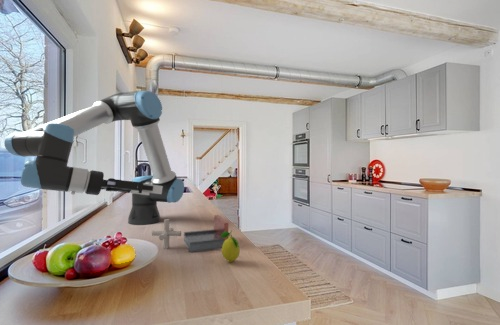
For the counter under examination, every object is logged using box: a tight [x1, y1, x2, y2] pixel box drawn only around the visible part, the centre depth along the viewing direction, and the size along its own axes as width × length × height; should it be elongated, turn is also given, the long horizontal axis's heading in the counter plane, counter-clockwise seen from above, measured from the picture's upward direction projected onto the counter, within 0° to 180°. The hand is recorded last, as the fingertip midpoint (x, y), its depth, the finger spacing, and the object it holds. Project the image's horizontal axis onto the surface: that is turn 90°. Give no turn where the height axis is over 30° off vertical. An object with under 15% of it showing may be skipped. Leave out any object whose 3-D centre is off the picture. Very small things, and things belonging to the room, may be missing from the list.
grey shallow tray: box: [183, 214, 229, 253], centre depth 98 cm, size 14×14×9 cm
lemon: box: [221, 231, 241, 263], centre depth 80 cm, size 7×6×10 cm
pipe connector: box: [151, 218, 182, 249], centre depth 93 cm, size 10×10×10 cm
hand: (155, 190), depth 94 cm, fingers open, 13 cm apart
